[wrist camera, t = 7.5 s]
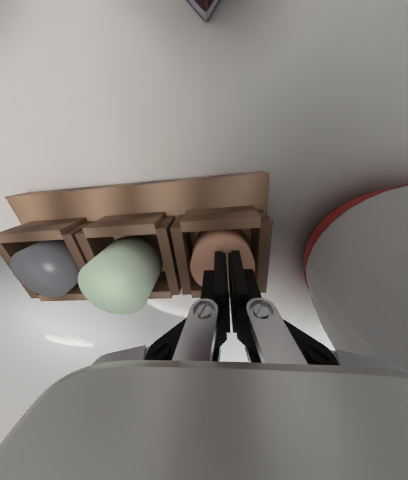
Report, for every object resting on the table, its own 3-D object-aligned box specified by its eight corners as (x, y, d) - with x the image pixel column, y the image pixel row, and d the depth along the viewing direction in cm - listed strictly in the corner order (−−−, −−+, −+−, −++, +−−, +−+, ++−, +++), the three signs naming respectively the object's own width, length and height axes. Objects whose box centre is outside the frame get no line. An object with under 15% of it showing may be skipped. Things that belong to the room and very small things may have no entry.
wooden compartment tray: (262, 171, 15) (283, 177, 10) (256, 279, 20) (268, 315, 15) (27, 192, 17) (-41, 205, 12) (77, 285, 22) (42, 318, 18)
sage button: (155, 234, 13) (137, 258, 10) (167, 282, 15) (154, 313, 12) (99, 237, 14) (65, 261, 11) (117, 283, 16) (93, 314, 13)
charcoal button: (85, 230, 16) (53, 248, 13) (103, 271, 18) (79, 296, 15) (39, 233, 16) (-3, 251, 13) (62, 273, 18) (30, 297, 15)
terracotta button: (247, 220, 14) (256, 237, 11) (246, 266, 16) (253, 292, 13) (192, 223, 15) (186, 241, 12) (198, 268, 17) (194, 293, 14)
